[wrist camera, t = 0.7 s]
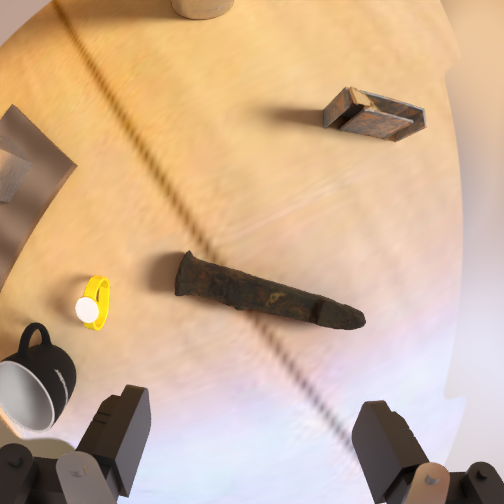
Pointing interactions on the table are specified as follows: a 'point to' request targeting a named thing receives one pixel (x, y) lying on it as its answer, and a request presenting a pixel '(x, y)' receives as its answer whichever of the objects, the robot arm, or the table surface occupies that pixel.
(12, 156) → the open-top grey box
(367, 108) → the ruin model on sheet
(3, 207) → the walnut stand board
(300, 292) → the hand tool
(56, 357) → the mug
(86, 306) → the watch
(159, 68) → the table surface
